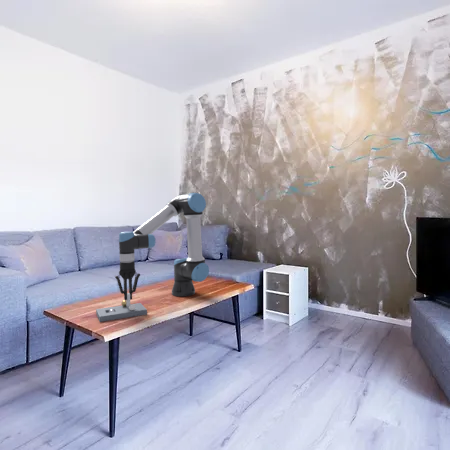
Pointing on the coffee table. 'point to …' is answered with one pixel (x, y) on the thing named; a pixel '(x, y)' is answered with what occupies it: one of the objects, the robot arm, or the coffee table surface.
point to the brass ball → (123, 303)
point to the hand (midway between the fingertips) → (128, 305)
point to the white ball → (132, 307)
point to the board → (120, 312)
